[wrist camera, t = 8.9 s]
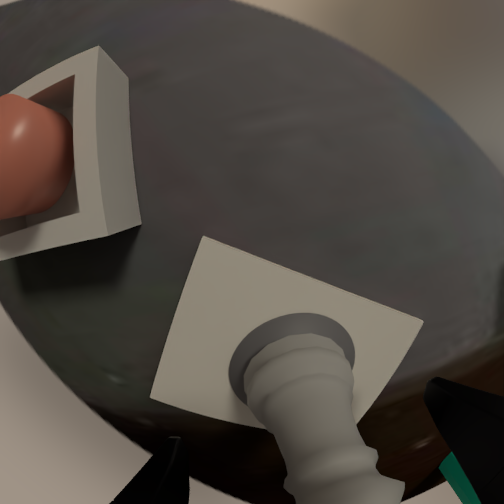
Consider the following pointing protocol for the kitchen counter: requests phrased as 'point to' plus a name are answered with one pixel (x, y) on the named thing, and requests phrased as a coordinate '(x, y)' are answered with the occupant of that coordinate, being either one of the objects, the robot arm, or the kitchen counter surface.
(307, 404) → the rook chess piece
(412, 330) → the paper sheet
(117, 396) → the kitchen counter surface
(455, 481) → the candle
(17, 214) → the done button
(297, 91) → the kitchen counter surface
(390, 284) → the kitchen counter surface
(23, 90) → the button housing
